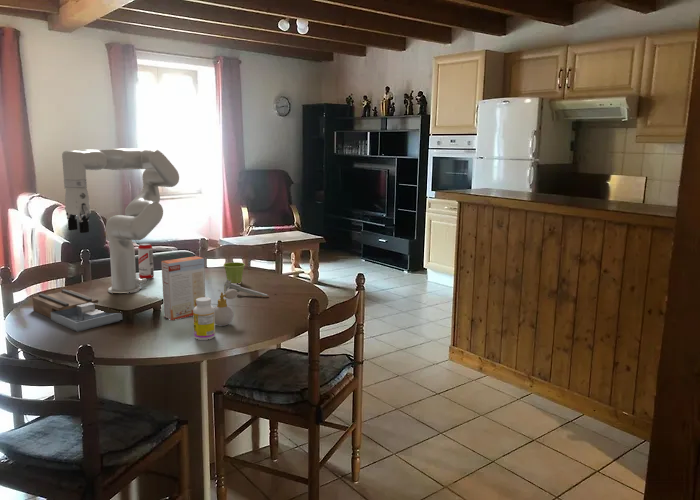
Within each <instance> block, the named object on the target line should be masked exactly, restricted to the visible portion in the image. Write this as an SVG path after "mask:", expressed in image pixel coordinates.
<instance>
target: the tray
mask: <svg viewBox="0 0 700 500" xmlns="http://www.w3.org/2000/svg"><path fill="white" fill-rule="evenodd" d="M120 320H122V321H123V313H122V314H121V313H106V316H102V317H97V318H93V319H89V320H85V321H81V320H78V318H77V307H75V308H70V309H66V310H61V311H53V312H51V318H50V321H52V322H55V323H57V324H59V325H61V326H62V327H65V328H67V329H70V330H72V331H74V332H78V333H79V332H82V331H86V330H89V329H93V328H98V327H102V326H105V325H110V324H114V323H118V322H121V321H120Z"/></svg>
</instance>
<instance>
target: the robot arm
mask: <svg viewBox="0 0 700 500" xmlns="http://www.w3.org/2000/svg"><path fill="white" fill-rule="evenodd" d="M61 157H62V158H61V159H62V160H61V162H62V172H63V173H62V174H63V187H64V189H65V190H64V191H65V192H64V193H65V194H64V199H65V200H64V201H65V203H64V204H65V207H64V210H65V215H66V219H67V229H68V231H76V230H78V225H79V233H80V234H84V233H89V232H90V227H89V226H90V225H89V221H90V215H91V204H90V203H91V202H90V196H89V192H88V186H87V185H88V184H87V182H88V181H87V170H88V171H101V170H111V171H130V170H144V171H143V173H142V177H141V178H142V190H141V191H140V192H139V194H138V195H136V197H134V199H133V200H131V201H130V202H129V203H128V205H127V206H126V207H125V209H124V215H123V214H118V215H117V214H116V215H112V216H111V217H109V218H108V219H107V221H106V224H105V231H106V236H107V239H108V244H109V261H110V277H111V286H110V287H108V288H107V291H108V293H110V294H113V293H112V292H130V293H129V294H132V293H137V292H139V291H140V290H141V286H140V285H141V284H146V283H148V280H147V279H146V278H144V279H141V278H140V277H139V278H137V274H136V273H137V271H136V269H137V268H136V251H135V250H136V249H135V245H134V243H133V241H141V240H143V239H145V238H146V237H147V236H148V235H150V233H151V232H152V231H153V230H154V229H155V228H156V227H157V226H158V224H159V223H160V222H161V221H162V219H163V216H164V209H163V205H162V204H161V203H160V200H161V195H160V190H159V187H161V188H172V187H173V188H174V187H175V186H177V185H178V184H179V182H180V174H179V172H178V170H177V169H176V167H175V165H173V163H172V162H171V161H170V159H168V157H167V156H166V155H165V154H164V153H162V152H161V151H160V150H158V149H154V148H108V149H107V148H106V149H75V150H65V151H63V152H62V153H61ZM77 217H78V219H79V222H78V219H76V218H77ZM78 223H79V224H78Z"/></svg>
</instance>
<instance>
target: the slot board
mask: <svg viewBox="0 0 700 500" xmlns="http://www.w3.org/2000/svg"><path fill="white" fill-rule="evenodd" d="M31 300H32V309H33V311H34V312H36V313H38V314H40V315H42V316H45V317H47V318H49V319H51V312H53V311H61V310H66V309H70V308H75V307H77V305H81V304H85V303H90V302H91V303H98V304H99V299H97V298H94V297H92V296H88V295H86V294H83V293H80V292H77V291H74V290H70V289H65V288H64V289H61V291H59V292H54V293H49V294H45V293H38V296H33V297H32V299H31Z"/></svg>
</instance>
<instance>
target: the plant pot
mask: <svg viewBox="0 0 700 500" xmlns="http://www.w3.org/2000/svg"><path fill="white" fill-rule="evenodd" d="M222 265H223V267H224V271H225V275H226V281H227V280H229V281H230V280H231V282H230V283H233V284H234V283H240V282H243V275H244V273H243V272H244V269H245V267H246V264H245V263H244V262H237V261H236V262H235V261H233V262H226V263H224V264H222Z"/></svg>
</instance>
